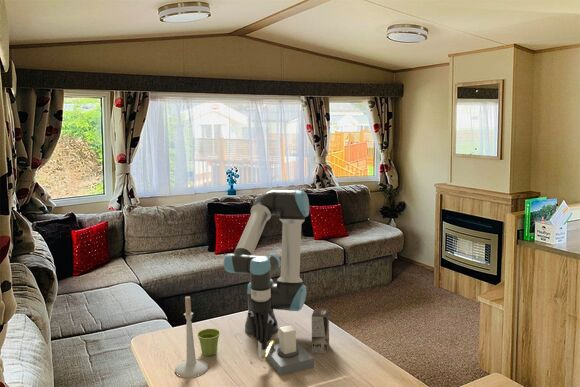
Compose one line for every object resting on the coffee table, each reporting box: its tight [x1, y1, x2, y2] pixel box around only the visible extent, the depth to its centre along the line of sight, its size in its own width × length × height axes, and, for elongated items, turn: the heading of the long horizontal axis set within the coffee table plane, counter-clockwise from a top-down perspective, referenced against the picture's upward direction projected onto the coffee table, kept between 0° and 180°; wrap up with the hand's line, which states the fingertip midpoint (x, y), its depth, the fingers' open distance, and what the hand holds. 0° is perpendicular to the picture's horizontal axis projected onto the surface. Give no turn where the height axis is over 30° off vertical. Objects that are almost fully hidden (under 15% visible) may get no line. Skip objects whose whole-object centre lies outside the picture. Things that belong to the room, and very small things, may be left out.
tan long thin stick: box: [262, 339, 276, 362], centre depth 193 cm, size 15×2×1 cm, turn 170°
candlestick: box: [174, 295, 209, 378], centre depth 189 cm, size 13×13×30 cm
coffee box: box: [311, 308, 330, 354], centre depth 205 cm, size 9×6×16 cm
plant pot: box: [196, 328, 221, 357], centre depth 204 cm, size 9×9×9 cm
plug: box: [277, 324, 298, 358], centre depth 194 cm, size 8×8×14 cm
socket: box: [266, 341, 315, 376], centre depth 195 cm, size 18×14×5 cm
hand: (262, 356), depth 189 cm, fingers closed
